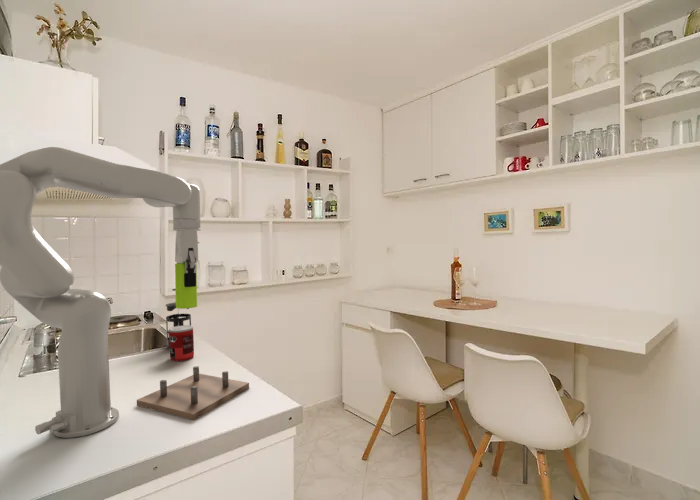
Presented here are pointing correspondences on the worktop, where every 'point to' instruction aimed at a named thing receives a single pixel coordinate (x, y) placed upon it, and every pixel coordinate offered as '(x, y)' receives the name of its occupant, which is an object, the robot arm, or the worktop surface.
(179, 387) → the peg stand
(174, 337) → the canned food
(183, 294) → the soap dispenser
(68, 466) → the worktop surface
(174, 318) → the french press
